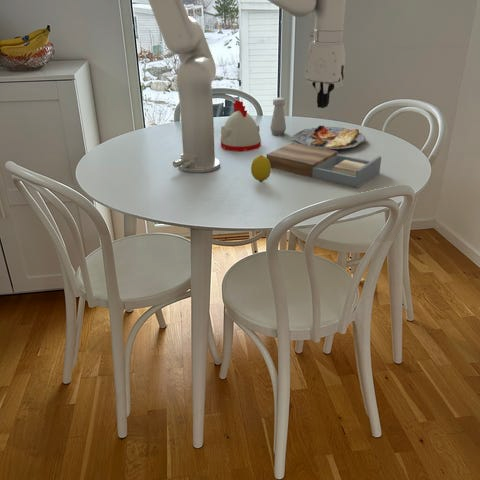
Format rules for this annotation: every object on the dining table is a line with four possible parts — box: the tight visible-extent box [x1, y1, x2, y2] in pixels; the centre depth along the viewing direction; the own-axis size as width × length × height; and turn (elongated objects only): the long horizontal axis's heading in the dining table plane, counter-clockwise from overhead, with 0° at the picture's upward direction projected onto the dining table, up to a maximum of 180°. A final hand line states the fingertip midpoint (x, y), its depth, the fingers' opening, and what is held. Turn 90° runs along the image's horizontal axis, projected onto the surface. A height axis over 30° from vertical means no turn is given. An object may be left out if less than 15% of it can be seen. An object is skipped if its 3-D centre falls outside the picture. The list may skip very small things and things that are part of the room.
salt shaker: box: [270, 97, 287, 136], centre depth 181 cm, size 6×6×13 cm
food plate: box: [292, 124, 367, 151], centre depth 174 cm, size 25×23×4 cm
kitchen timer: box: [220, 99, 262, 152], centre depth 169 cm, size 14×14×15 cm
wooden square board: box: [266, 142, 338, 179], centre depth 152 cm, size 15×16×4 cm
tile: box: [334, 160, 366, 176], centre depth 143 cm, size 7×7×2 cm
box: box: [312, 153, 382, 189], centre depth 144 cm, size 15×14×5 cm
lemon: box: [250, 154, 272, 183], centre depth 139 cm, size 6×6×8 cm
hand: (322, 106), depth 141 cm, fingers closed
